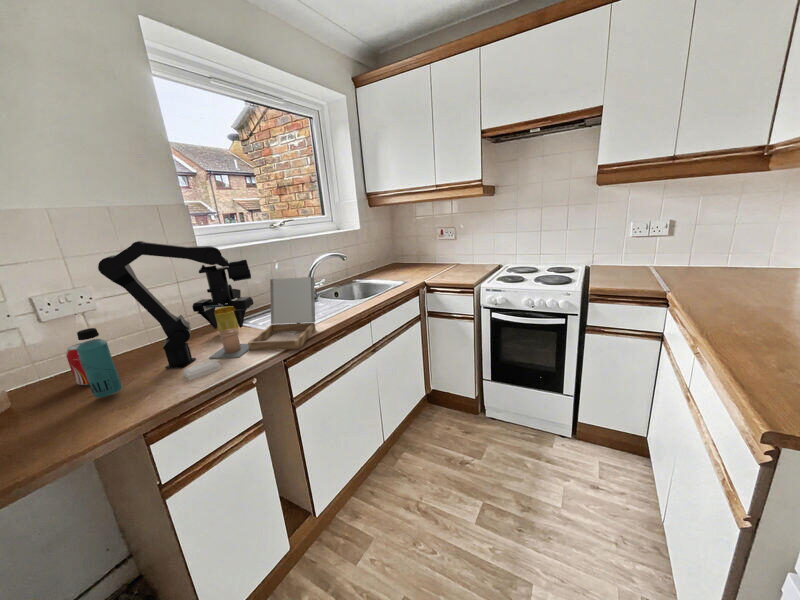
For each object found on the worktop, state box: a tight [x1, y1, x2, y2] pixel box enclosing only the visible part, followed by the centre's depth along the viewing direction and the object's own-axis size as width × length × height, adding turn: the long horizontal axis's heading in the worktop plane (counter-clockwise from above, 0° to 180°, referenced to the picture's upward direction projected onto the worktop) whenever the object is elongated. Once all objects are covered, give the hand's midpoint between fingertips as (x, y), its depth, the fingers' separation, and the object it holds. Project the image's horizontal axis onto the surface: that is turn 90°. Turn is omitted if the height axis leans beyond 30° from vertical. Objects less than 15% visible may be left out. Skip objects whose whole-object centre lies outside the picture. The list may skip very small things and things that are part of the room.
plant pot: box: [214, 306, 239, 333], centre depth 137 cm, size 10×10×10 cm
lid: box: [269, 276, 316, 325], centre depth 135 cm, size 18×18×1 cm
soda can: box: [65, 342, 89, 386], centre depth 103 cm, size 7×7×12 cm
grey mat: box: [208, 343, 249, 360], centre depth 119 cm, size 11×11×1 cm
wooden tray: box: [247, 322, 317, 352], centre depth 126 cm, size 18×18×3 cm
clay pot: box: [219, 328, 241, 353], centre depth 118 cm, size 6×6×7 cm
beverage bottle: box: [76, 327, 123, 398], centre depth 91 cm, size 6×7×20 cm
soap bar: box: [183, 359, 222, 381], centre depth 104 cm, size 5×9×3 cm, turn 138°
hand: (228, 327), depth 117 cm, fingers open, 9 cm apart
